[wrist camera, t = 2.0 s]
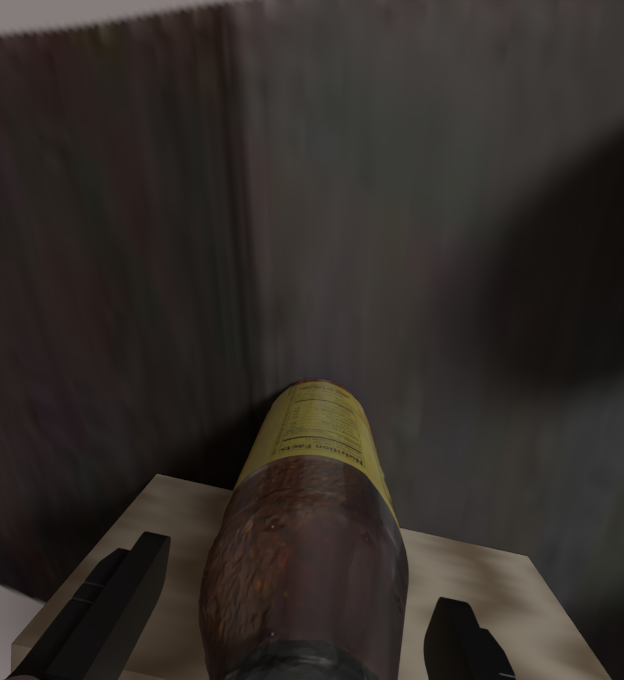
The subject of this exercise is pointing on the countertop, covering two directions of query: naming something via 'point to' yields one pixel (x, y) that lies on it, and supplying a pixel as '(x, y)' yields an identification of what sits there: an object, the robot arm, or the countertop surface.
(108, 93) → the countertop surface
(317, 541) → the sauce bottle
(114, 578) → the robot arm
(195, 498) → the birch board
